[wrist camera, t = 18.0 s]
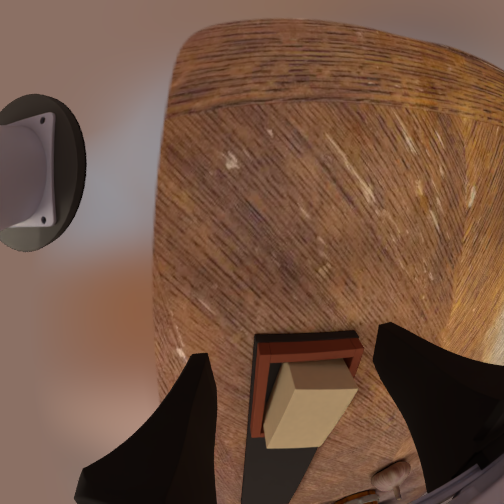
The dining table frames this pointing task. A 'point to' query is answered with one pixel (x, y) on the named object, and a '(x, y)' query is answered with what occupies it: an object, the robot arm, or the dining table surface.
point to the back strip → (262, 381)
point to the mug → (361, 498)
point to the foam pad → (307, 402)
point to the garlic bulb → (392, 478)
